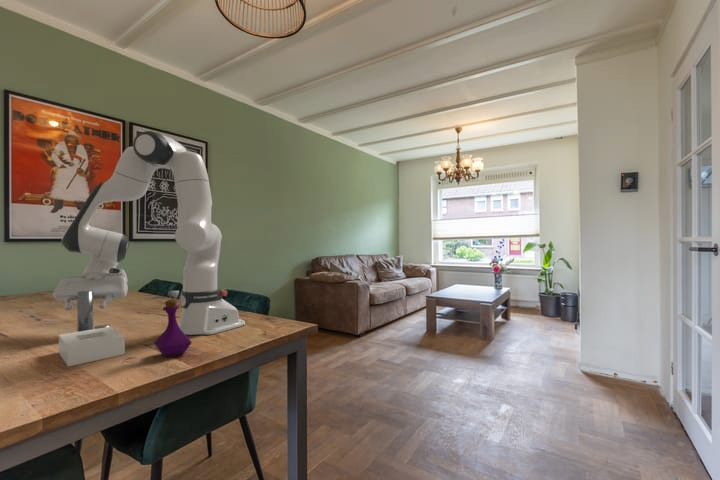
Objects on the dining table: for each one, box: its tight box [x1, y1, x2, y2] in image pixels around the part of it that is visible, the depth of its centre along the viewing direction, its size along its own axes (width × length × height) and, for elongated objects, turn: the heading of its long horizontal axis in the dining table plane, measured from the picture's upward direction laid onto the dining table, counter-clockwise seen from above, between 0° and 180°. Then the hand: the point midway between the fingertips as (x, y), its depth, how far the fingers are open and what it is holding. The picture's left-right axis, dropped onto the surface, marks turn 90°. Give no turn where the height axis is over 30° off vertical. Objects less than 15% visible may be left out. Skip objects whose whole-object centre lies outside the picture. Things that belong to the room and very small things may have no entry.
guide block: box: [58, 326, 126, 367], centre depth 93 cm, size 12×16×5 cm
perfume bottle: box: [153, 290, 192, 358], centre depth 92 cm, size 8×8×18 cm
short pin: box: [94, 324, 112, 329], centre depth 105 cm, size 4×4×4 cm
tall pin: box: [76, 291, 94, 332], centre depth 109 cm, size 4×4×15 cm
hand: (85, 308), depth 109 cm, fingers open, 8 cm apart
